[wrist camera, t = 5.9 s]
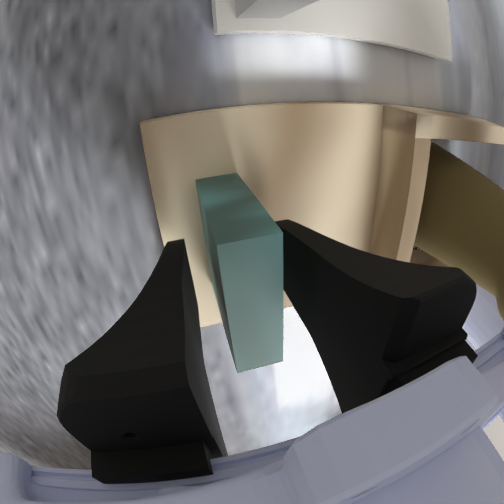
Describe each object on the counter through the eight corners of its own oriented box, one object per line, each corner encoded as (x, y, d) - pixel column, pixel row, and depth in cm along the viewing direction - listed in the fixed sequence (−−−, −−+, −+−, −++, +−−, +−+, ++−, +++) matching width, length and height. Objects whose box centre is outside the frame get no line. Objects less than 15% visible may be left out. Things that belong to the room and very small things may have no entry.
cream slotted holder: (472, 116, 13) (547, 145, 9) (447, 251, 19) (500, 297, 14) (141, 121, 10) (117, 153, 5) (185, 319, 15) (202, 415, 11)
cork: (385, 252, 17) (509, 383, 8) (370, 162, 14) (563, 293, 5) (450, 211, 17) (570, 308, 8) (445, 128, 14) (607, 212, 5)
